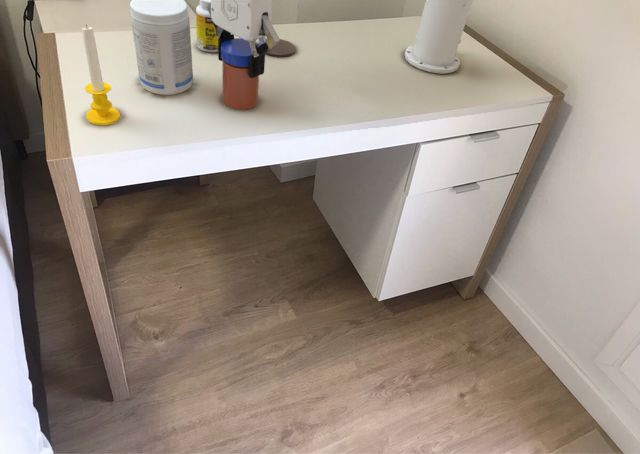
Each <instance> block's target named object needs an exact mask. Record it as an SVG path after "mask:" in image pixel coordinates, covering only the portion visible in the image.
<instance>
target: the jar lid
mask: <svg viewBox="0 0 640 454" xmlns="http://www.w3.org/2000/svg"><path fill="white" fill-rule="evenodd" d="M256 43H257V46H258V47H259V46H260V45H259V43H258V42H256ZM250 55H252V51H251V48H250V44H249V41H245V40H243V39H241V38H239V37H238V38H237V37H236V38H235V37H234V39H229V40H226V41H224V42H223V43H222V44H221V58H222V59H223V61H225V62H226V63H228V64H230V65H234V66H239V67H249V56H250Z"/></svg>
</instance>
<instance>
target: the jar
mask: <svg viewBox="0 0 640 454" xmlns="http://www.w3.org/2000/svg"><path fill="white" fill-rule="evenodd" d="M221 62H222V65H221V66H222V102H223V104H224V105H225V106H226V107H228V108H230V109H232V110H236V111H247V110H251V109H254V108H255V107H256V106H257V105H258V104H259V103H258V102H259V86H260V85H259V84H260V80H259V79H260V75H259V76H257V77H254V78H250V77H249V67H239V66H234V65H230V64H228V63H226V62H225V61H223V59H222V61H221Z"/></svg>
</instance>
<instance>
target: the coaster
mask: <svg viewBox="0 0 640 454" xmlns="http://www.w3.org/2000/svg"><path fill="white" fill-rule="evenodd" d="M279 39H280V38H279ZM266 40H267V38H266ZM258 44H259V45H260V42H259V43H258ZM295 52H296V46H295V44H293V43H292V42H290V41H288V40H285V39H280V41H279V43H278V44H276V45H275V46H274V47H273V49H271V50H270V51H269V52H268V53H266V54H265V56H266V55H267V56H269V57H274V58H287V57H291V56H292V55H294V54H295Z"/></svg>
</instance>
